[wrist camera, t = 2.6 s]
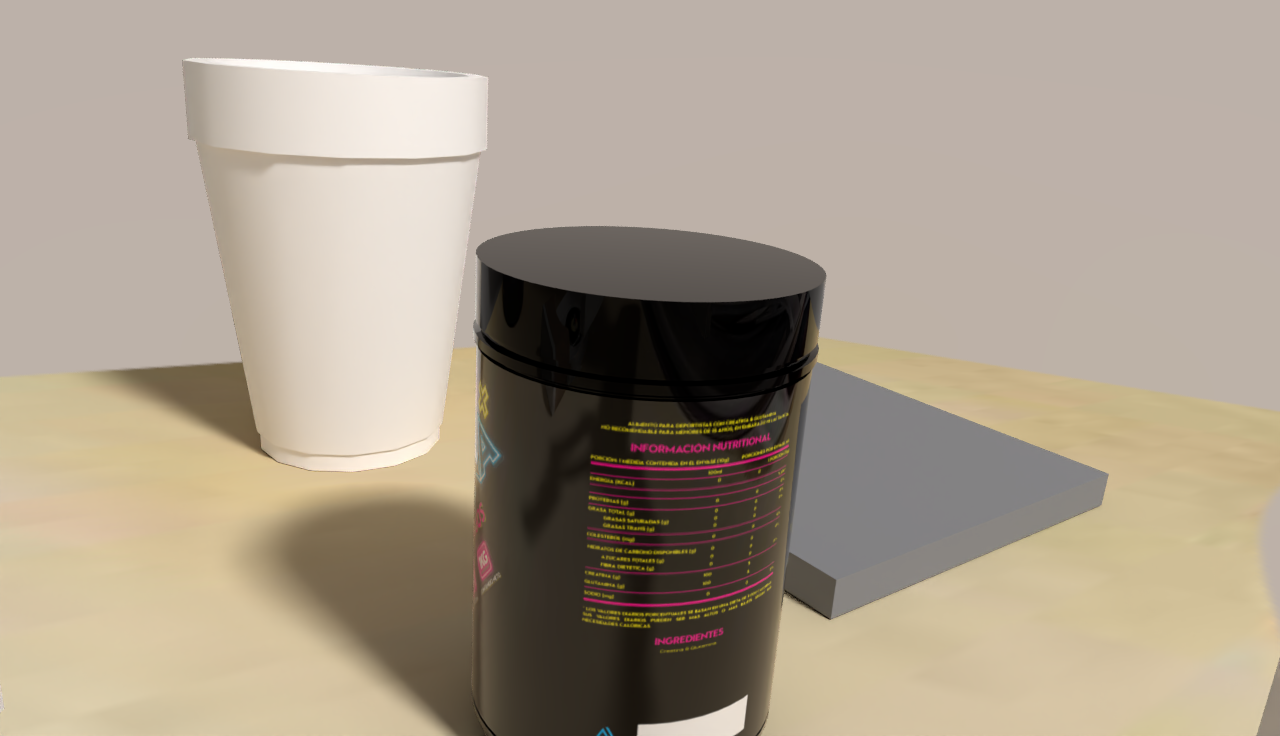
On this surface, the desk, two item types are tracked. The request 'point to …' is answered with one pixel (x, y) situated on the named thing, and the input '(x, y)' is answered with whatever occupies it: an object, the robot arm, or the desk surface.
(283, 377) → the foam cup
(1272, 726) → the robot arm
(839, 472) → the mat
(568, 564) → the supplement container
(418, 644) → the desk surface
